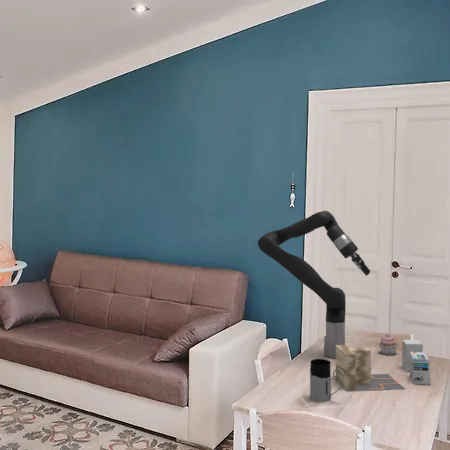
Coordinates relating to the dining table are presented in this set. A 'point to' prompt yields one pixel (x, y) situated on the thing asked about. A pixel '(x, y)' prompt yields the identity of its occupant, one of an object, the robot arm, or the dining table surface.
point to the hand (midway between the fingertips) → (368, 273)
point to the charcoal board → (378, 384)
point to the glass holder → (321, 380)
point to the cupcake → (388, 345)
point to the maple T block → (353, 366)
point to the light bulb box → (419, 368)
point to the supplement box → (407, 348)
